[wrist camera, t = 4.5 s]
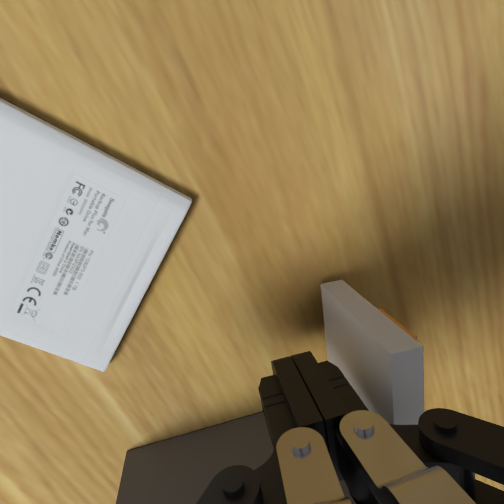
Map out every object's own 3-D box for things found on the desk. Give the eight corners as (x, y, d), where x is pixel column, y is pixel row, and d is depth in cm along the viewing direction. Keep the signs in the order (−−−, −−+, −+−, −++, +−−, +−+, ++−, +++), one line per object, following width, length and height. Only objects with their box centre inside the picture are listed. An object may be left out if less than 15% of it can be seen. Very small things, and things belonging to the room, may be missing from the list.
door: (318, 284, 16) (387, 354, 11) (354, 276, 17) (442, 341, 11) (346, 571, 21) (405, 726, 16) (374, 563, 21) (442, 712, 16)
